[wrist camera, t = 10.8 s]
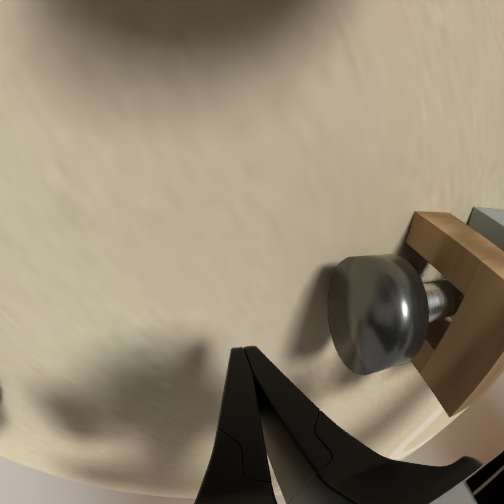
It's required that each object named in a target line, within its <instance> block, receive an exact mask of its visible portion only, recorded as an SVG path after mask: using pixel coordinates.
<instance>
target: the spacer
mask: <svg viewBox="0 0 504 504" xmlns="http://www.w3.org/2000/svg"><path fill="white" fill-rule="evenodd" d="M406 243H407V244H408V245H409V246H411V247H412V248H413V249H414V250H415V251H416V252H418V253H419V254H420V255H421V256H422V257H423V258H424V259H426V260H427V261H428V262H429V263H430V264H431V265H432V266H433V267H435V268H436V269H437V270H438V271H439V272H440V273H441V274H442V275H443V276H444V277H445V278H447V279H448V280H449V281H450V282H451V283H452V284H453V285H454V286H455V287H456V288H457V289H458V290H459V291H460V292H461V293H462V294H463V295H464V298H463V300H462V302H461V304H460V306H459V308H458V310H457V312H456V314H455V316H454V318H453V320H452V319H451V318H450V317H446V318H443V319H439V320H436V321H433V322H429V325H428V331H427V335H426V338H425V341H424V343H423V345H422V347H421V349H420V351H419V352H418V354H417V355H416V356H415V357H414V358H412V359H411V362H412V363H413V365H414V366H415V367H416V369H417V370H418V372H419V373H420V374H421V376H422V377H423V379H424V380H425V382H426V383H427V385H428V386H429V387H430V389H431V390H432V392H433V393H434V395H435V396H436V398H437V399H438V401H439V402H440V404H441V405H442V407H443V408H444V410H445V411H446V413H447V414H448V416H449V417H452V416H453V415H455V414H457V413H458V412H460V411H462V410H463V409H465V408H466V407H468V406H470V405H471V404H473V403H474V402H476V401H477V400H479V399H480V398H482V397H483V396H484V395H485V393H486V392H487V391H488V390H489V389H490V388H491V386H492V385H493V384H494V383H495V381H496V380H497V379H498V378H499V376H500V375H501V374H502V373H503V371H504V252H503V251H502V250H501V249H500V248H498V247H497V246H496V245H494V244H493V243H492V242H490V241H489V240H488V239H486V238H485V237H483V236H482V235H481V234H479V233H478V232H476V231H475V230H474V229H472V228H471V227H469V226H468V225H466V224H465V223H464V222H462V221H461V220H459V219H458V218H456V217H455V216H453V215H452V214H450V213H438V212H416V211H415V213H414V217H413V220H412V224H411V227H410V231H409V234H408V237H407V240H406Z"/></svg>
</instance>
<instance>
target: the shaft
mask: <svg viewBox="0 0 504 504" xmlns="http://www.w3.org/2000/svg"><path fill="white" fill-rule="evenodd" d="M463 298H464V295H463V294H462V293H461V292H460V291H459V290H458V289H457V288H456V287H455V286H454V285H453V284H452V283H451V282H450V281H449V280H448V279H442V280H436V281H430V282H424V283H423V282H422V280H421V278H420V276H419V274H418V273H417V271H416V270H415V268H414V267H413V266H412V265H411V264H410V263H409V262H408V261H407V260H406V259H404V258H402V257H400V256H398V255H394V254H385V255H371V256H357V257H349V258H346V259H344V260H343V261H342V262H341V263H340V264H339V265H338V266H337V267H336V269H335V271H334V273H333V276H332V278H331V282H330V286H329V292H328V321H329V328H330V332H331V336H332V340H333V343H334V346H335V348H336V351H337V353H338V355H339V357H340V358H341V360H342V361H343V363H344V364H345V365H346V366H347V367H348V368H349V369H350V370H351V371H353V372H354V373H356V374H360V375H367V374H371V373H374V372H378V371H381V370H384V369H388V368H391V367H394V366H397V365H400V364H403V363H406V362H408V361H410V360H411V359H412V358H414V357H415V356H416V355H417V354H418V352H419V351H420V349H421V347H422V345H423V343H424V341H425V338H426V335H427V331H428V325H429V322H433V321H436V320H439V319H443V318H446V317H449V316H452V315H455V314H456V312H457V310H458V308H459V306H460V304H461V302H462V300H463Z"/></svg>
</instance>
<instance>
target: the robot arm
mask: <svg viewBox="0 0 504 504" xmlns="http://www.w3.org/2000/svg"><path fill="white" fill-rule="evenodd" d="M266 452H267V453H266ZM267 455H268V458H269V460H270V463H271V466H272V468H273V471H274V473H275V476H276V479H277V481H278V484H279V486H280V489H281V491H282V494H283V496H284V499H285V501H286V503H287V504H504V450H503V451H502V452H501V453H500V454H498V455H497V456H496V457H495V458H493V459H492V460H491V461H489V462H488V463H487V464H486V465H484V466H483V467H482V468H481V469H479V470H478V471H476V470H477V469H478V468H480V467H481V466H482V465H483V463H482V462H481V461H480V460H478V459H476V458H473V457H469V456H463V457H462V458H460V459H459V460H457V461H456V462H454V463H453V464H451V465H448V466H441V467H439V466H428V465H421V464H414V463H408V462H402V461H397V460H392V459H388V458H386V457H383V456H381V455H379V454H377V453H376V452H374V451H373V450H371V449H370V448H368V447H367V446H365V445H364V444H362V443H361V442H360V441H358V440H357V439H355V438H354V437H352V436H351V435H350V434H348V433H347V432H345V431H344V430H343V429H341V428H340V427H339V426H338V425H336V424H335V423H334V422H333V421H332V420H331V419H330V418H328V417H327V416H326V415H325V414H324V413H323V412H322V411H320V409H319V408H318V407H317V406H316V405H315V404H314V403H313V402H311V401H310V400H309V399H308V398H307V397H306V396H305V395H304V394H303V393H302V392H301V391H300V390H299V389H298V388H297V387H296V386H295V385H294V384H293V383H292V382H291V381H290V380H289V379H288V378H287V377H286V376H285V375H284V374H283V373H282V372H281V371H280V370H279V369H278V368H277V367H276V366H275V365H274V364H273V363H272V362H271V361H270V360H269V359H268V358H267V357H266V356H265V355H264V354H263V353H262V352H261V351H260V350H259V349H258V348H257V347H256V346H247V347H244V348H242V347H238V348H232V349H231V352H230V358H229V363H228V369H227V375H226V381H225V386H224V392H223V398H222V403H221V409H220V415H219V421H218V426H217V431H216V437H215V442H214V447H213V451H212V455H211V458H210V461H209V464H208V467H207V470H206V473H205V476H204V479H203V481H202V484H201V487H200V490H199V492H198V495H197V498H196V500H195V503H194V504H277V501H276V499H275V495H274V491H273V487H272V484H271V483H272V481H271V475H270V470H269V464H268V458H267ZM475 471H476V472H475ZM473 472H475V473H474V474H473V475H472V476H470V475H471V474H472V473H473ZM468 476H470V477H469V478H468V479H466V478H467V477H468ZM465 479H466V480H465Z"/></svg>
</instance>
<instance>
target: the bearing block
mask: <svg viewBox="0 0 504 504" xmlns="http://www.w3.org/2000/svg"><path fill="white" fill-rule="evenodd" d="M468 226H469V227H471V228H472V229H474V230H475V231H476V232H478V233H479V234H481V235H482V236H483V237H485V238H486V239H488V240H489V241H490V242H492V243H493V244H494V245H496V246H497V247H498V248H500V249H501V250H502V251H503V252H504V210H499V209H490V208H480V207H473V211H472V214H471V217H470V220H469V223H468ZM454 316H455V315H452V316H449V317H450V318H451V319H452V320H453V318H454Z"/></svg>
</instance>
